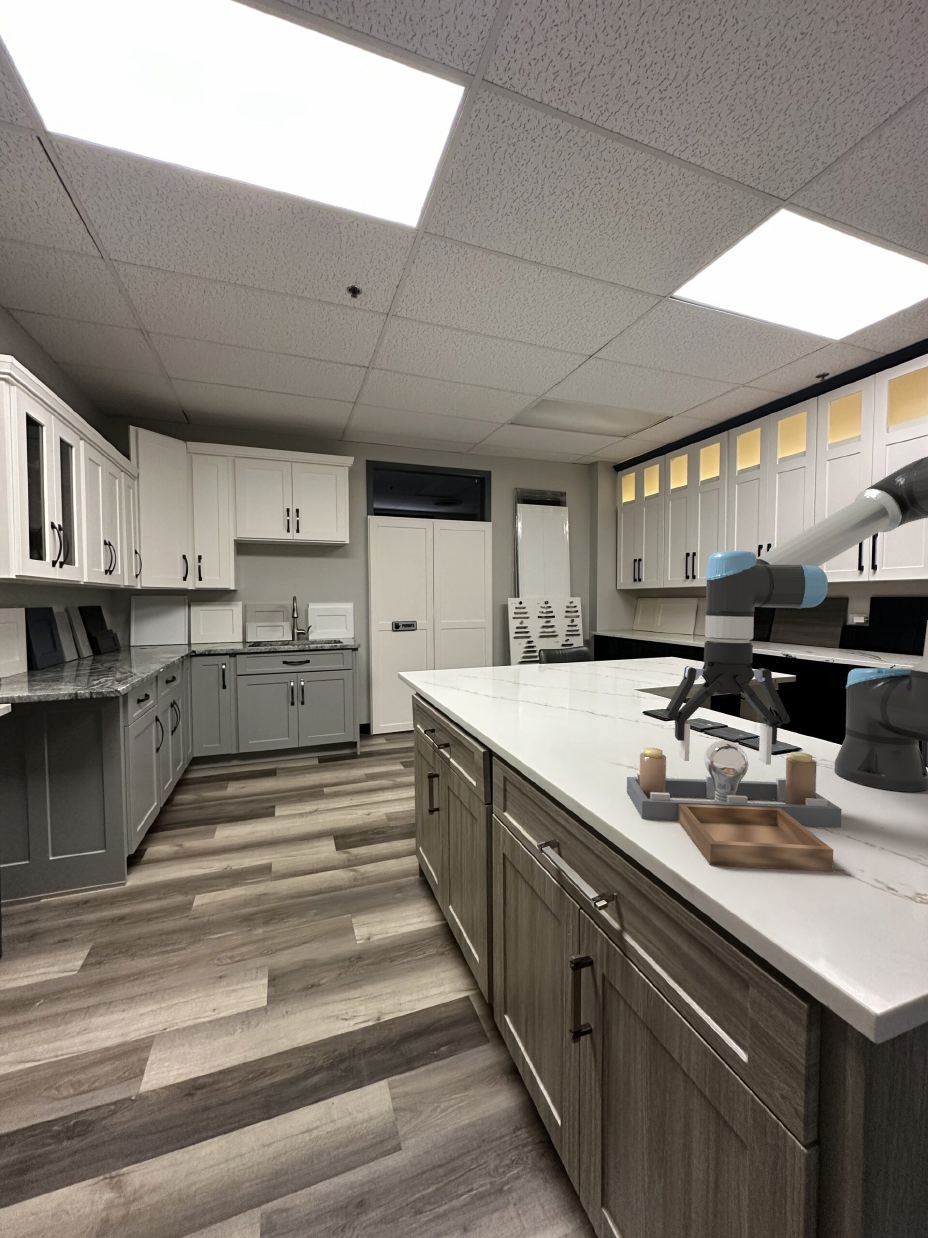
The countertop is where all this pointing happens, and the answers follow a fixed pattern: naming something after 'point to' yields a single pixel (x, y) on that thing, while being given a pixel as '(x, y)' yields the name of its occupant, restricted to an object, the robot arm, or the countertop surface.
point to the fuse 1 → (652, 771)
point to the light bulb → (725, 767)
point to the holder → (730, 800)
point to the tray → (753, 838)
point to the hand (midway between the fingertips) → (724, 760)
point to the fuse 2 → (800, 778)
